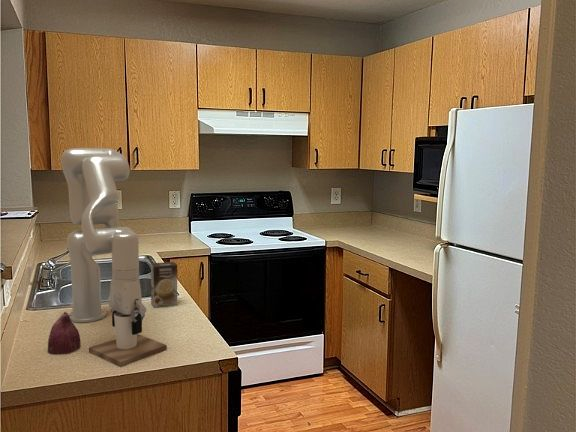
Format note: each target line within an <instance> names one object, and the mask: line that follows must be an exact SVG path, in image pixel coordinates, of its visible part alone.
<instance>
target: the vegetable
mask: <svg viewBox="0 0 576 432" xmlns="http://www.w3.org/2000/svg"><path fill="white" fill-rule="evenodd" d="M69 314H70V313H68V312H67V311H64V312H63V313H62V314H61V315H60V316H59V317H58V318H57V320H56V321H55V322H54V323H53V325H52V326H51V329H50V333H49V335H48V340H47V352H48V354H50V355H68V354H71V353H75V351H78V350H79V349H80V348H81V337H80V336H81V335H80V333H79V329H78V328H77V327H76V325H75V324H74V322H73V321H71V319H70V316H69Z"/></svg>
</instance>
